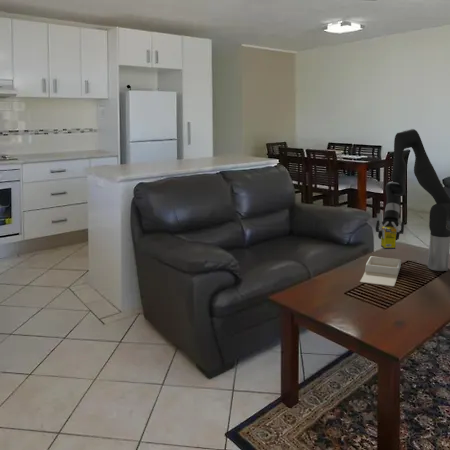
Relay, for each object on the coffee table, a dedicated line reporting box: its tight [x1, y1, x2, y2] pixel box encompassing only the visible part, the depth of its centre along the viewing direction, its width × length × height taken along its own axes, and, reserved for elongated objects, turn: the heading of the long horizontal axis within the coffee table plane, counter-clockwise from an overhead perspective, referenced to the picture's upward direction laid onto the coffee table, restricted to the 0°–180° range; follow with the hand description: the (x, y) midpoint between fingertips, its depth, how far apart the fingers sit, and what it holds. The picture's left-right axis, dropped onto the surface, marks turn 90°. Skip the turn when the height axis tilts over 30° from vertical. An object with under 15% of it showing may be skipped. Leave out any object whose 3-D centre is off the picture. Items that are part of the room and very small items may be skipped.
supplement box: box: [380, 226, 397, 250], centre depth 248 cm, size 6×6×11 cm
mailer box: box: [359, 255, 402, 288], centre depth 228 cm, size 15×30×4 cm, turn 155°
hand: (388, 238), depth 247 cm, fingers closed on supplement box, 7 cm apart
